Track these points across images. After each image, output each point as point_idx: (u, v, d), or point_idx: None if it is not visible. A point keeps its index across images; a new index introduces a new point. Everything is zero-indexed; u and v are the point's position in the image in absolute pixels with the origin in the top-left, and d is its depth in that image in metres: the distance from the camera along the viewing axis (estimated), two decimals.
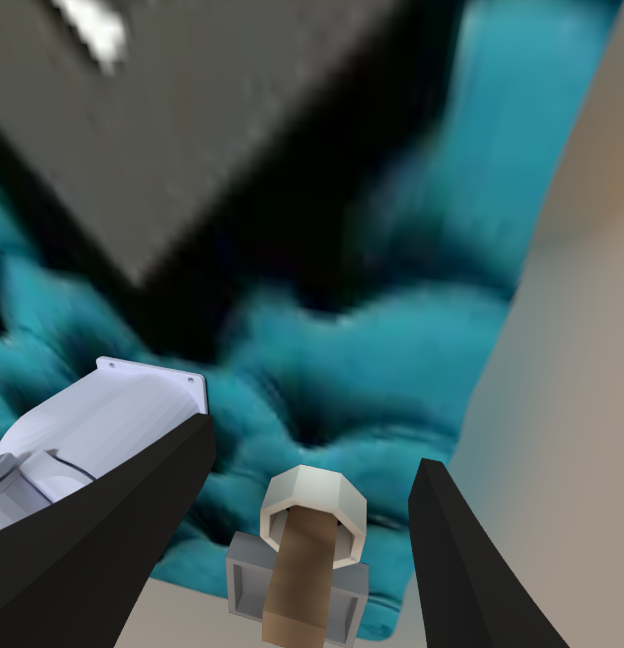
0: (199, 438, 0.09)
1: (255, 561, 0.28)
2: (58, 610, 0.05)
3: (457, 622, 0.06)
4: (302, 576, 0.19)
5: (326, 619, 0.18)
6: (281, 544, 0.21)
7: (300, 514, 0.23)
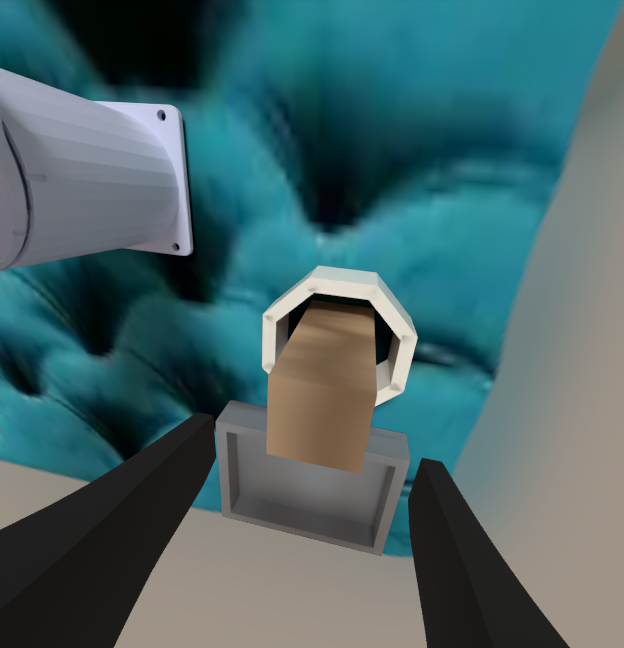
0: (199, 438, 0.09)
1: (256, 426, 0.21)
2: (58, 610, 0.05)
3: (457, 622, 0.06)
4: (330, 355, 0.12)
5: (374, 387, 0.10)
6: (295, 333, 0.14)
7: (319, 317, 0.16)
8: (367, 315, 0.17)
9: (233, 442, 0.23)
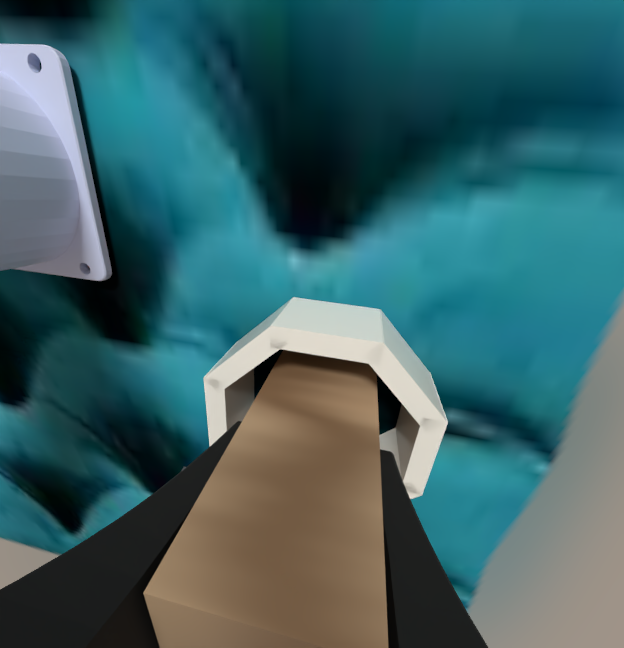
0: None
1: None
2: (134, 635, 0.05)
3: None
4: (296, 495, 0.06)
5: (382, 625, 0.05)
6: (241, 429, 0.08)
7: (291, 384, 0.10)
8: (366, 375, 0.11)
9: None
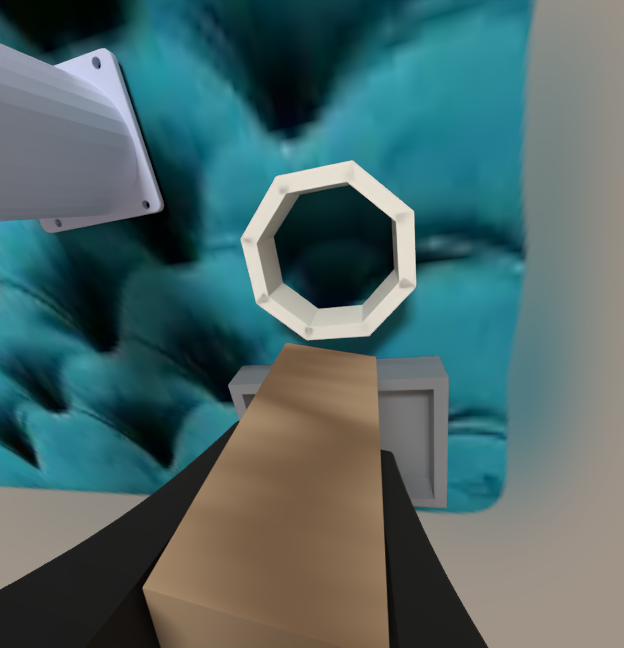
0: None
1: None
2: (134, 635, 0.05)
3: None
4: (295, 491, 0.06)
5: (383, 619, 0.05)
6: (241, 426, 0.08)
7: (291, 381, 0.10)
8: (366, 372, 0.11)
9: None
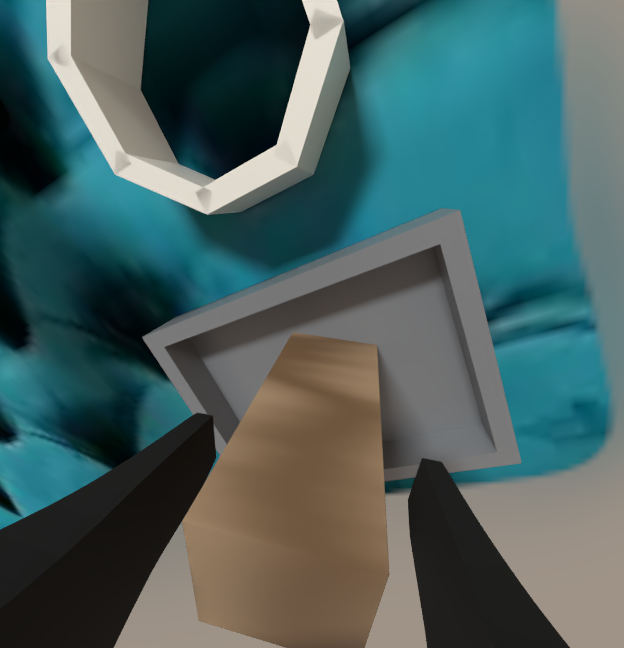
0: (199, 438, 0.09)
1: (195, 314, 0.13)
2: (58, 610, 0.05)
3: (457, 622, 0.06)
4: (307, 452, 0.07)
5: (383, 546, 0.06)
6: (256, 401, 0.09)
7: (299, 365, 0.11)
8: (368, 358, 0.12)
9: (199, 372, 0.15)
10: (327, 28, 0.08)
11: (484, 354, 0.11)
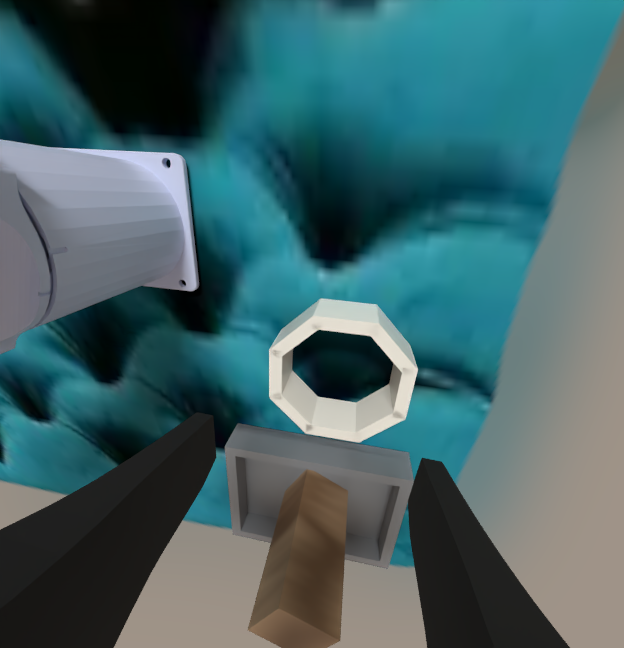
0: (199, 438, 0.09)
1: (264, 450, 0.22)
2: (58, 610, 0.05)
3: (457, 622, 0.06)
4: (316, 576, 0.18)
5: (339, 629, 0.16)
6: (295, 535, 0.19)
7: (312, 505, 0.21)
8: (343, 504, 0.23)
9: (241, 464, 0.24)
10: (398, 417, 0.17)
11: (395, 527, 0.22)
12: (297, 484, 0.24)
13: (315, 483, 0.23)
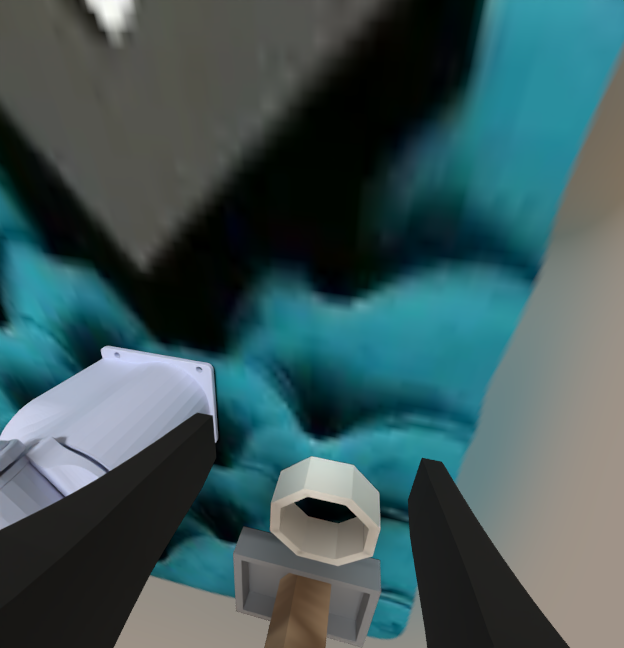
0: (199, 438, 0.09)
1: (264, 557, 0.27)
2: (58, 610, 0.05)
3: (457, 622, 0.06)
4: None
5: None
6: (287, 636, 0.25)
7: (301, 604, 0.27)
8: (326, 599, 0.28)
9: (245, 560, 0.29)
10: (367, 554, 0.23)
11: (367, 620, 0.28)
12: (290, 579, 0.29)
13: (304, 581, 0.28)
